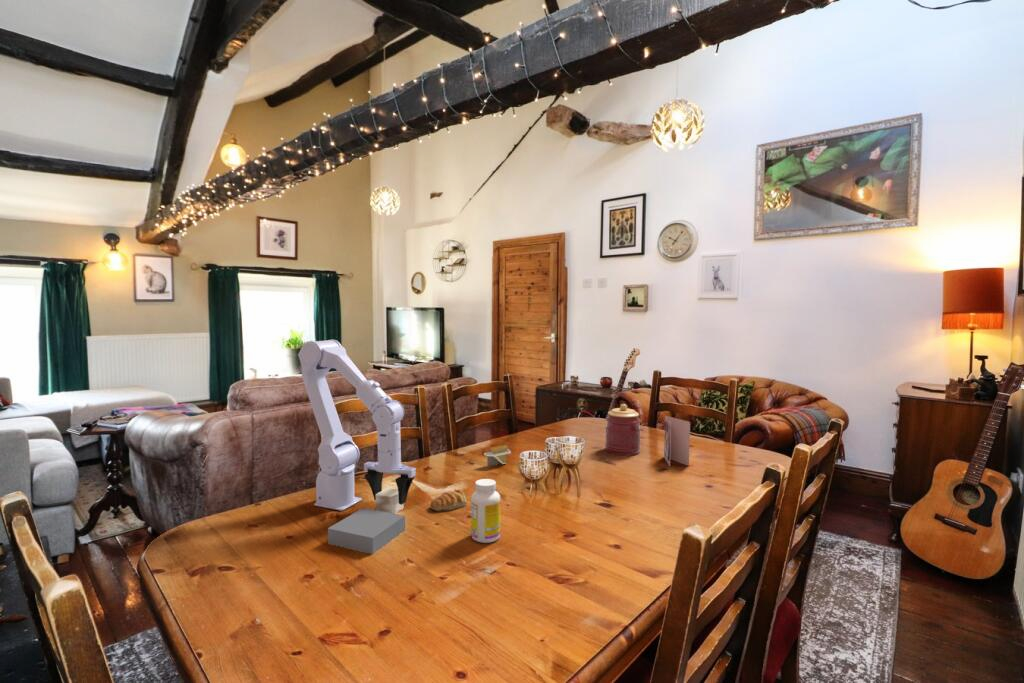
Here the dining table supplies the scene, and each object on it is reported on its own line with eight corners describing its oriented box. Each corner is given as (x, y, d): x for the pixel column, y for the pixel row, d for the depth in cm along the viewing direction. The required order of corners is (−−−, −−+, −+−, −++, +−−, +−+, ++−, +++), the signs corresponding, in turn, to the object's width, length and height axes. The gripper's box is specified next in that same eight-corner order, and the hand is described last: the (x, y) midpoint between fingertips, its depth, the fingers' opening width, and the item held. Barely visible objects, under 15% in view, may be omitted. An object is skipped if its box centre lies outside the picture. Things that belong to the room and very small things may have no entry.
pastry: (438, 515, 122) (438, 501, 121) (425, 507, 127) (425, 493, 127) (469, 506, 128) (468, 492, 128) (454, 498, 133) (454, 485, 133)
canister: (605, 454, 174) (606, 406, 173) (604, 445, 187) (605, 400, 186) (642, 456, 172) (643, 408, 171) (638, 446, 185) (639, 401, 184)
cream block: (375, 513, 123) (375, 494, 122) (387, 506, 127) (387, 487, 127) (392, 516, 121) (392, 497, 120) (403, 509, 125) (403, 490, 125)
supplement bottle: (504, 533, 112) (504, 479, 111) (494, 546, 106) (494, 489, 105) (477, 528, 114) (478, 475, 113) (466, 541, 108) (466, 485, 107)
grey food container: (530, 466, 162) (530, 447, 162) (486, 477, 151) (486, 456, 151) (508, 457, 172) (509, 439, 171) (466, 467, 160) (466, 447, 160)
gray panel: (328, 545, 106) (327, 528, 106) (363, 523, 117) (363, 507, 117) (372, 556, 102) (372, 537, 102) (405, 532, 113) (405, 515, 113)
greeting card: (661, 456, 172) (662, 415, 171) (683, 457, 171) (684, 416, 170) (667, 466, 161) (668, 422, 160) (690, 467, 160) (691, 423, 159)
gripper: (422, 447, 124) (422, 499, 125) (375, 442, 129) (376, 491, 130) (406, 455, 118) (407, 509, 118) (358, 449, 123) (359, 501, 124)
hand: (390, 500), depth 124 cm, fingers open, 7 cm apart
